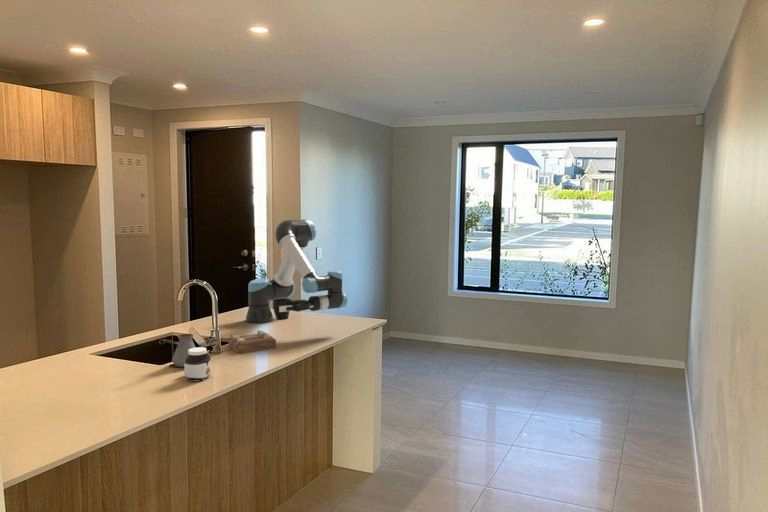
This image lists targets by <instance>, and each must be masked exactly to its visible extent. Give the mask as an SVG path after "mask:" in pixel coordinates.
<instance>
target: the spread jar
mask: <svg viewBox="0 0 768 512" xmlns="http://www.w3.org/2000/svg"><path fill="white" fill-rule="evenodd" d="M188 354H189V355H188V356H187V358H186V359H185V363H184V368H183V369H184V377H185V378H186V379H187V380H188V381H190V380H203V379H206V378H207V379H209V377H210V375H211V373H212V360H211V359H212V358H211V355H210V354H208V353H207V348H206V347H203V346H201V347H200V346H199V347H196V348H191V349H189V350H188ZM207 379H206V380H207ZM203 381H204V380H203Z"/></svg>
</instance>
